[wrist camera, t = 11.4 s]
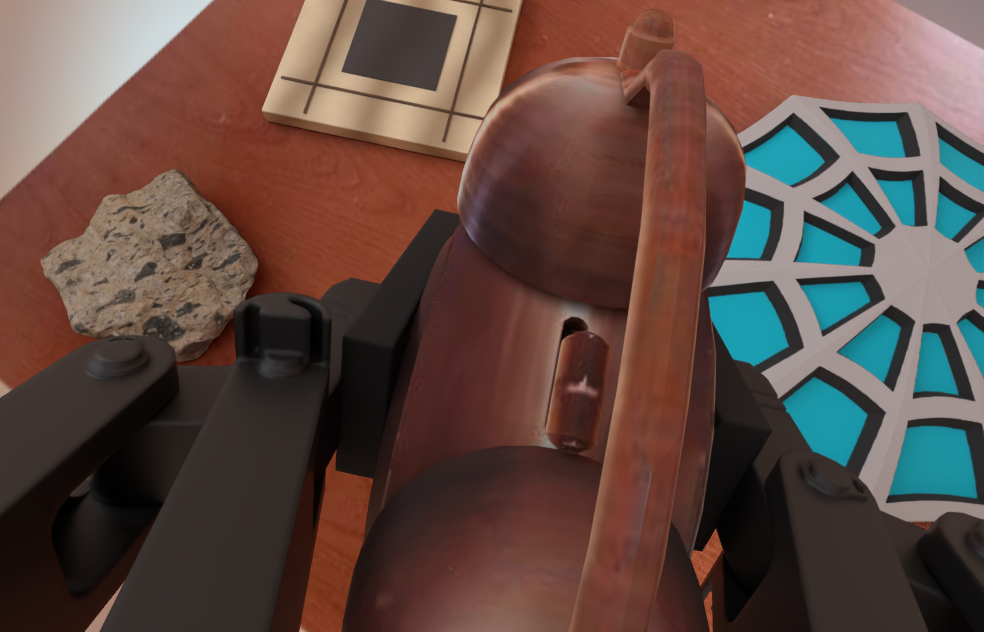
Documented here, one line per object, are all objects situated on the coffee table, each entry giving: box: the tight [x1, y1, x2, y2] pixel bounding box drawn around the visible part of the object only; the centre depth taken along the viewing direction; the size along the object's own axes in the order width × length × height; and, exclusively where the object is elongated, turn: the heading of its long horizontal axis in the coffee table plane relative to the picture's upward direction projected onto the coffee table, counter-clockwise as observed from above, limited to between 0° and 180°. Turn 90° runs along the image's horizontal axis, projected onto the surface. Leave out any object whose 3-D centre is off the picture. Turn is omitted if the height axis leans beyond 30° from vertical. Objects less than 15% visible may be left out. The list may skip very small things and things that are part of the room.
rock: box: [41, 169, 258, 362], centre depth 32 cm, size 11×11×4 cm
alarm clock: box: [342, 9, 747, 632], centre depth 11 cm, size 11×5×15 cm, turn 168°
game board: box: [262, 0, 523, 162], centre depth 39 cm, size 16×16×1 cm
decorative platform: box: [707, 95, 984, 522], centre depth 34 cm, size 31×29×5 cm
